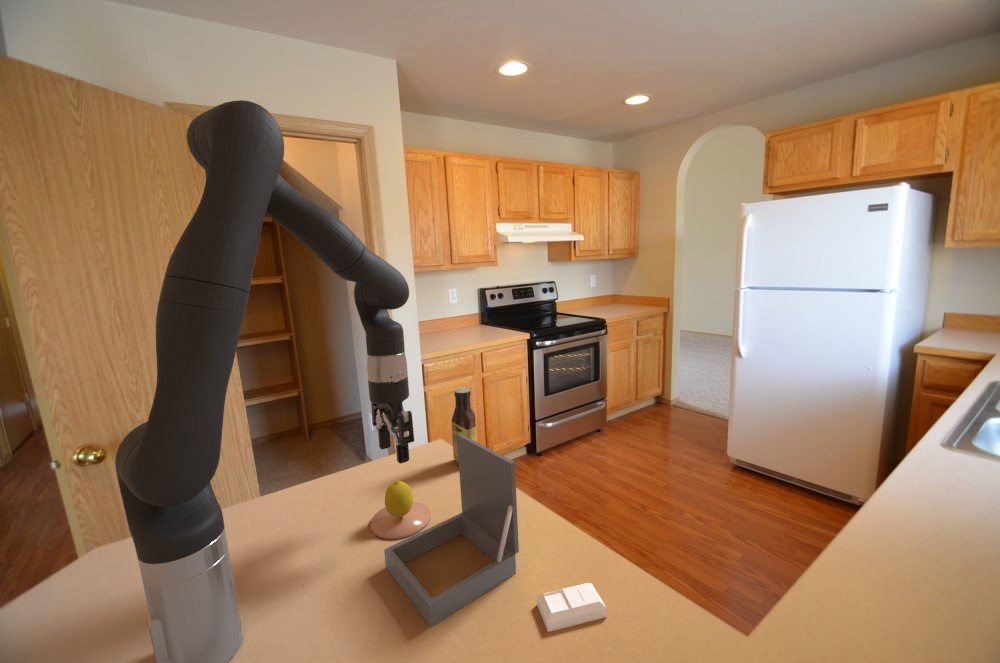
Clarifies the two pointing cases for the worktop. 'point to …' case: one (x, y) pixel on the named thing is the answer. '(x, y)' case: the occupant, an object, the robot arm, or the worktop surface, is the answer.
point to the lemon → (398, 499)
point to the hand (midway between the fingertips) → (393, 454)
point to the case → (467, 532)
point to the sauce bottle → (462, 419)
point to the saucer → (400, 522)
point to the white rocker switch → (570, 606)
